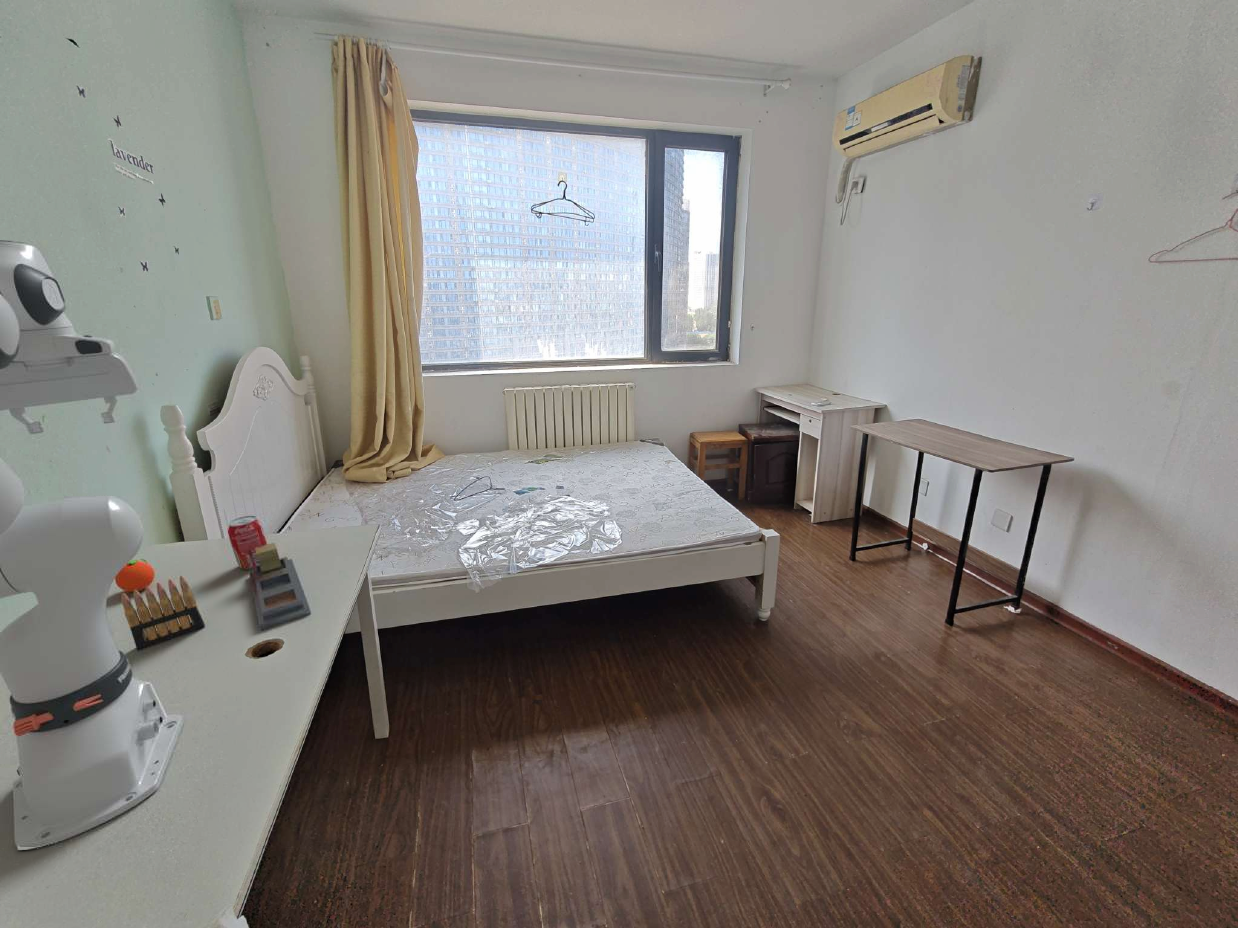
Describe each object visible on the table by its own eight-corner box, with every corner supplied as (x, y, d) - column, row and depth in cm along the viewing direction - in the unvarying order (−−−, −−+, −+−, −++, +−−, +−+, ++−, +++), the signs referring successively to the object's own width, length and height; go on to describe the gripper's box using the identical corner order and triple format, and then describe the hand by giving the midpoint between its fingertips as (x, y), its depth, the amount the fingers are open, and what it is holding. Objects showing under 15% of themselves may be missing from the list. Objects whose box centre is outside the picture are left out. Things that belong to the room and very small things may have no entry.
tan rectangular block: (283, 573, 128) (276, 548, 126) (263, 578, 126) (256, 553, 124) (281, 566, 132) (274, 542, 129) (262, 572, 129) (254, 547, 127)
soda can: (253, 557, 141) (241, 514, 137) (278, 557, 140) (266, 514, 136) (231, 570, 134) (217, 526, 130) (257, 571, 133) (244, 526, 129)
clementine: (137, 581, 132) (127, 554, 130) (168, 577, 133) (159, 551, 130) (112, 599, 124) (101, 571, 122) (145, 595, 125) (135, 568, 123)
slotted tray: (311, 613, 114) (307, 600, 113) (260, 630, 109) (257, 617, 108) (293, 564, 136) (290, 553, 135) (250, 576, 131) (247, 565, 130)
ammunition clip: (137, 650, 105) (115, 596, 101) (137, 646, 106) (116, 592, 103) (205, 627, 111) (187, 575, 108) (204, 623, 113) (186, 572, 109)
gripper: (-57, 356, 82) (-17, 444, 87) (120, 341, 94) (147, 419, 98) (-43, 353, 87) (-6, 436, 92) (124, 339, 99) (149, 414, 103)
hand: (74, 427), depth 95 cm, fingers open, 8 cm apart
